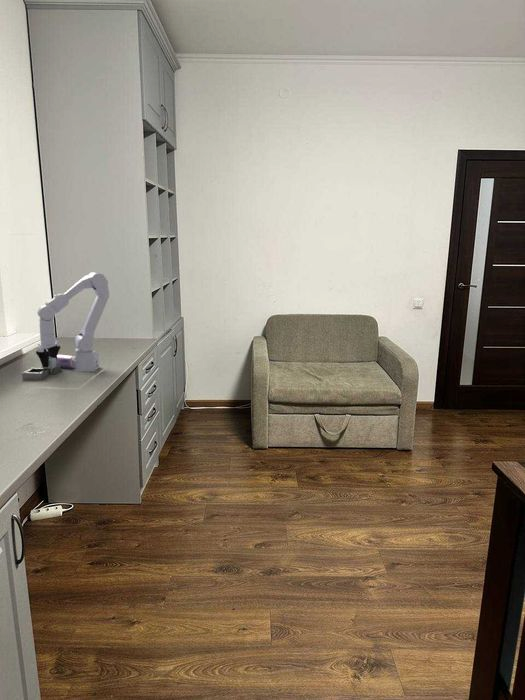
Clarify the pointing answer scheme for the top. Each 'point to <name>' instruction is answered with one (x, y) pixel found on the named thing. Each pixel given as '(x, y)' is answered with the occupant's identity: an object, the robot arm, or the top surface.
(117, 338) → the top surface
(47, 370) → the port
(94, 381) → the top surface
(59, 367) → the holster
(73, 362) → the beverage can
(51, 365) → the plug
